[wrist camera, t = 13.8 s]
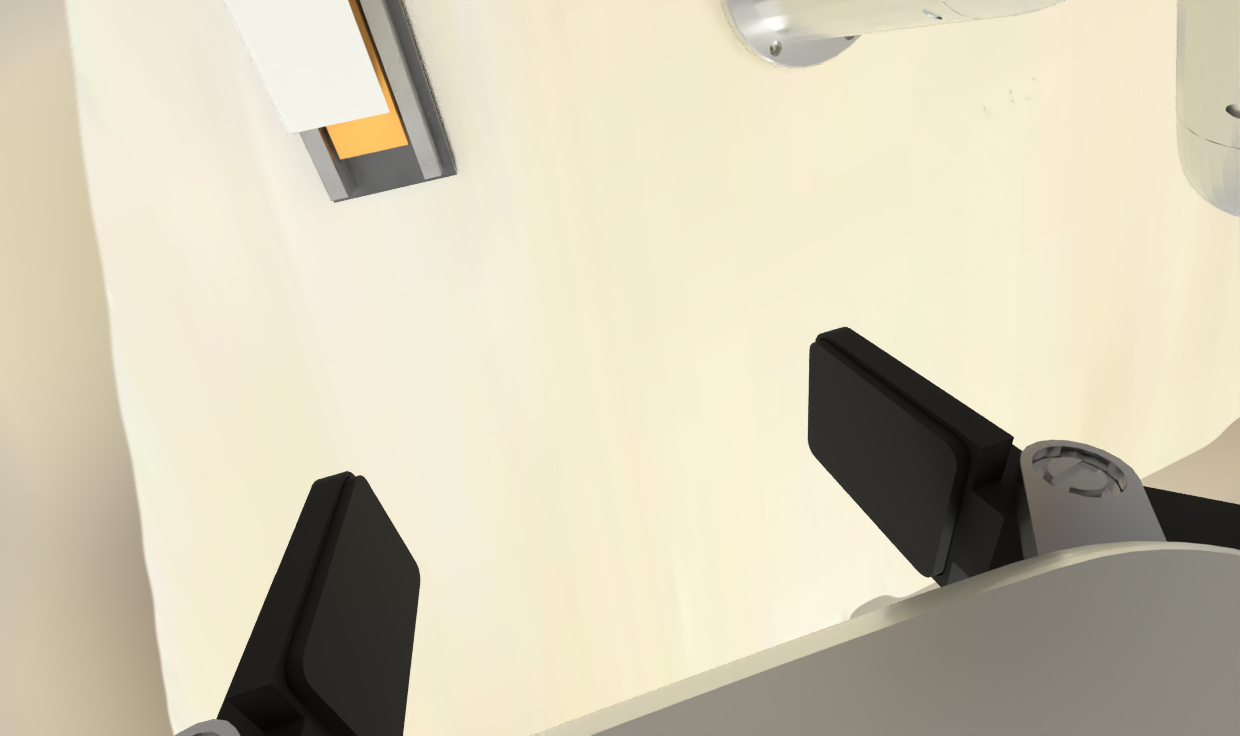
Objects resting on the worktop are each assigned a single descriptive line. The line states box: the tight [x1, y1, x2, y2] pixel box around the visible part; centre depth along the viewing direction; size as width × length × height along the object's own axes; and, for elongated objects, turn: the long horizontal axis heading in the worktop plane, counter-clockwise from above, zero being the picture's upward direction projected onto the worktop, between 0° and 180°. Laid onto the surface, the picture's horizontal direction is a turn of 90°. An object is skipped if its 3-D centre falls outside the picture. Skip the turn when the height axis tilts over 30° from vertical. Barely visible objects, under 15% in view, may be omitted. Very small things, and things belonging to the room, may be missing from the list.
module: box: [224, 0, 390, 134], centre depth 23 cm, size 4×7×10 cm, turn 10°
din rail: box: [299, 0, 457, 203], centre depth 29 cm, size 8×16×4 cm, turn 10°
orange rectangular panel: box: [326, 0, 410, 160], centre depth 28 cm, size 4×11×1 cm, turn 10°
